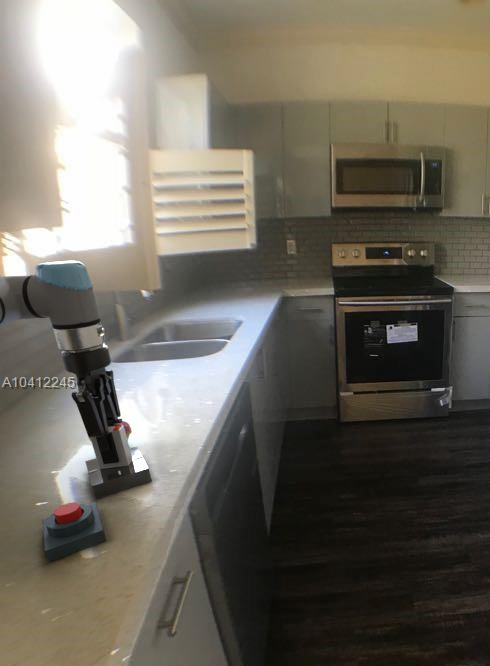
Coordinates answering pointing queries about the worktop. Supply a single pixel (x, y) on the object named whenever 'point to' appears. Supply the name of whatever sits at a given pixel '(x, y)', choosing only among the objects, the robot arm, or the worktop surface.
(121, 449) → the hob knob
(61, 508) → the button
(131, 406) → the worktop surface
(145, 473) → the plate
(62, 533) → the button box
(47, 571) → the worktop surface
